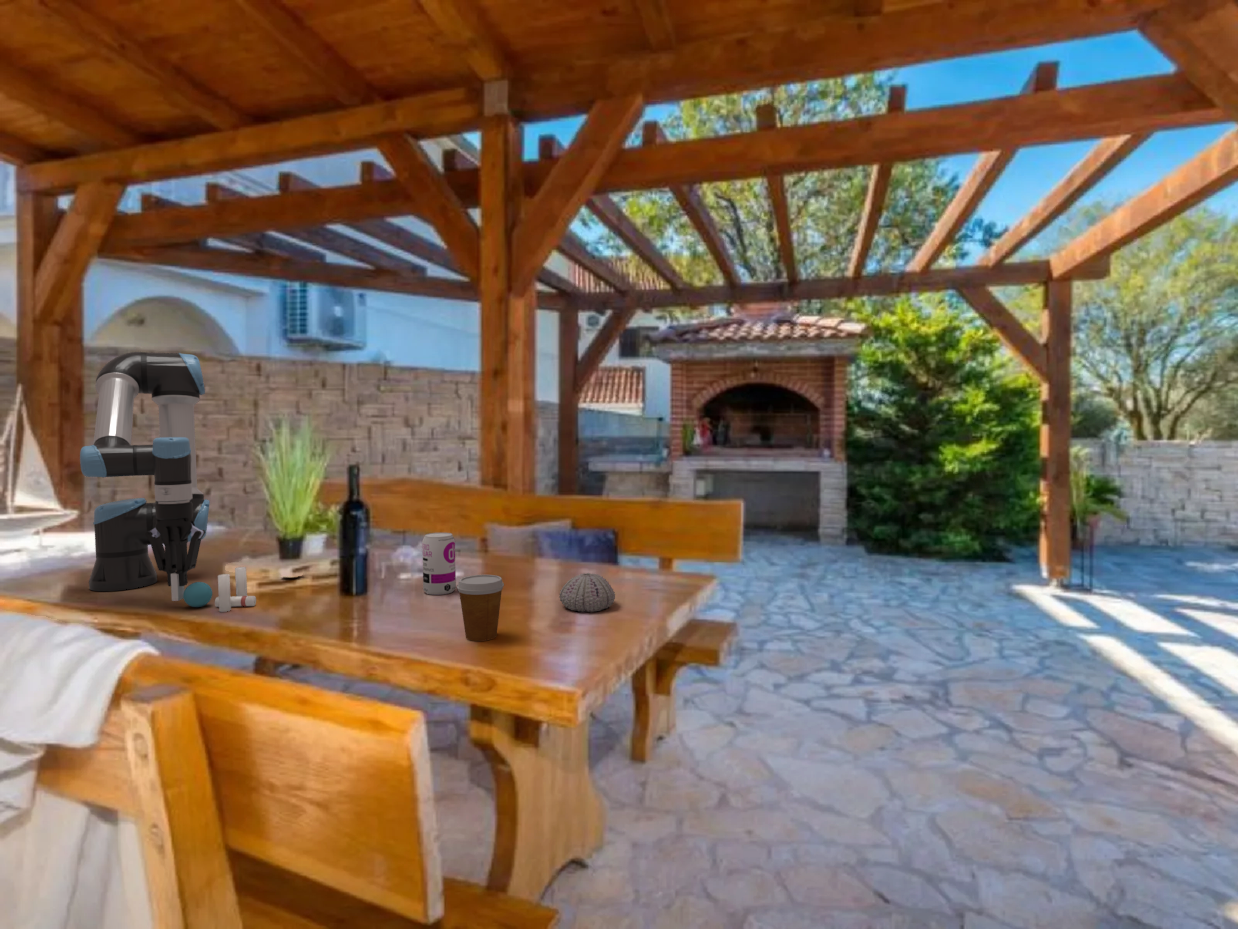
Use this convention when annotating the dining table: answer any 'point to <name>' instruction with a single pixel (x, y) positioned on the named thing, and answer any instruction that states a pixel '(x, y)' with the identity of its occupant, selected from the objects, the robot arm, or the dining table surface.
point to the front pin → (239, 601)
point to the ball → (197, 594)
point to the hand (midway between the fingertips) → (178, 599)
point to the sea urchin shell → (587, 593)
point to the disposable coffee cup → (480, 605)
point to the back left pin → (241, 581)
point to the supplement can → (439, 563)
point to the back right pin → (224, 592)
